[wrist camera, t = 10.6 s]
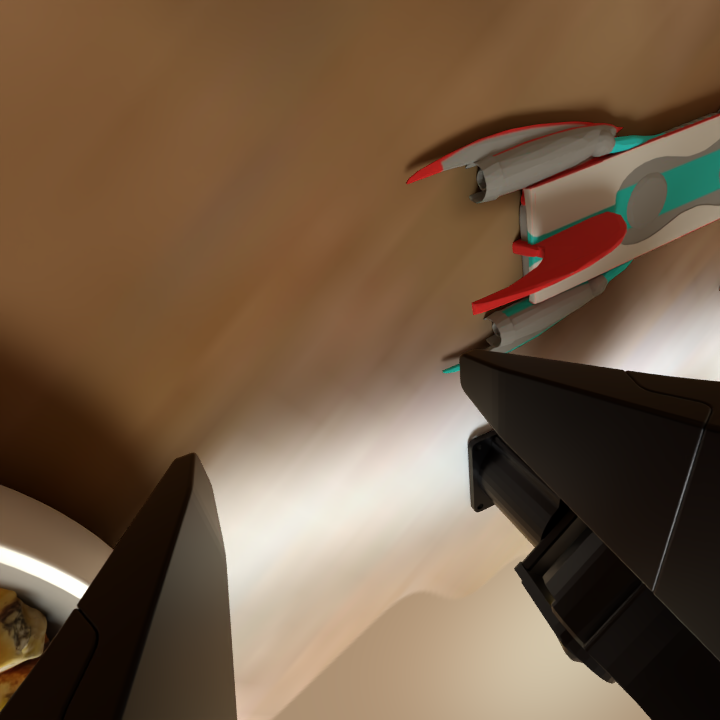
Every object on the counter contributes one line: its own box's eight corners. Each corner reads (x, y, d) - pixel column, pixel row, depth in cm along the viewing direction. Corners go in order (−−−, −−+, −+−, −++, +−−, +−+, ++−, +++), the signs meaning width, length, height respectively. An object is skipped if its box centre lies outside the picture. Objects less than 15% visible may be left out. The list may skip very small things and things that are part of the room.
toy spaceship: (777, 0, 24) (912, -39, 20) (743, 193, 30) (842, 195, 26) (396, 176, 18) (474, 176, 14) (448, 376, 24) (514, 419, 20)
